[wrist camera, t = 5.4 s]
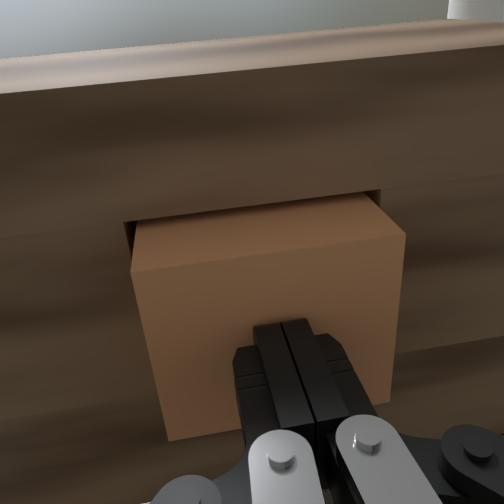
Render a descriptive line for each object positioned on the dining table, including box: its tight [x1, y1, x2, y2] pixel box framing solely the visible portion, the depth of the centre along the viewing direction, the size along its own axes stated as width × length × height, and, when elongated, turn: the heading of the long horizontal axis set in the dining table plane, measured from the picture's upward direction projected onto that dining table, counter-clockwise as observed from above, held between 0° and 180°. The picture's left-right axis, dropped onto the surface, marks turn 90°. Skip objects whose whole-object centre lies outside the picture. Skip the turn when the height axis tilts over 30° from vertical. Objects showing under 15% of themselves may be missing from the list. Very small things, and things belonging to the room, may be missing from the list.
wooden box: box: [0, 19, 504, 504], centre depth 20 cm, size 10×22×16 cm, turn 99°
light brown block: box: [130, 191, 406, 441], centre depth 17 cm, size 8×7×6 cm
